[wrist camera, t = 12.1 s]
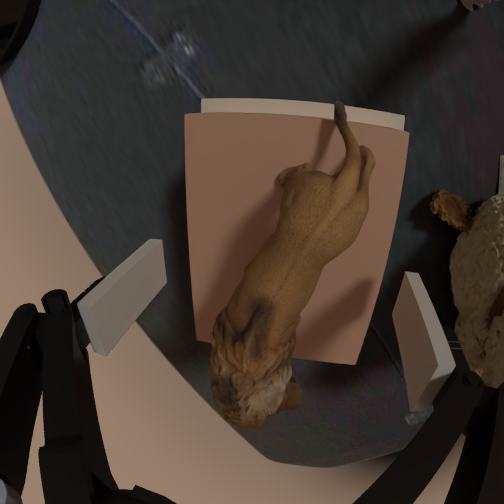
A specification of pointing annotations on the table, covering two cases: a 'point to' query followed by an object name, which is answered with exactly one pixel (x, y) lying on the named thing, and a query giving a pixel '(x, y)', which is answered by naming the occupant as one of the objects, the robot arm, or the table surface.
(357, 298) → the stacked block pedestal
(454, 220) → the dog
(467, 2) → the human figurine
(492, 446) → the robot arm
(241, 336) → the lion figurine
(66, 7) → the table surface
